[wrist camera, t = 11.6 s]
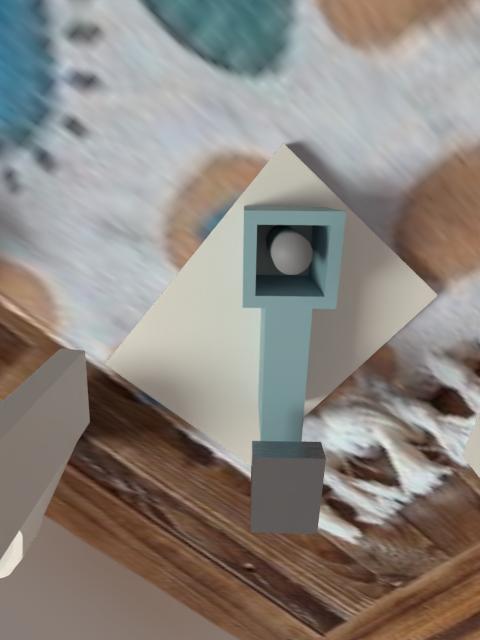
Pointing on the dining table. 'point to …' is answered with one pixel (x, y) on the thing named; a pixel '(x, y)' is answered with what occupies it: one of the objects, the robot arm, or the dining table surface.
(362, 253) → the board
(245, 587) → the dining table surface
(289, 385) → the link
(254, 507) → the block
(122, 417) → the dining table surface
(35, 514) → the foam cup
